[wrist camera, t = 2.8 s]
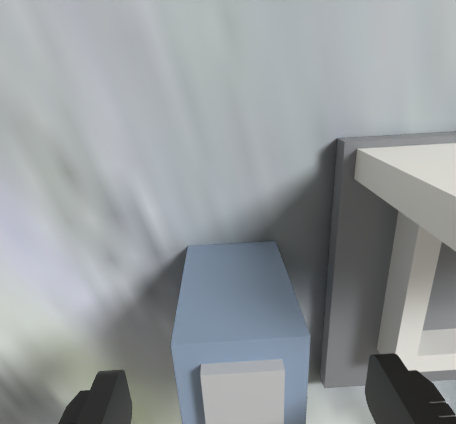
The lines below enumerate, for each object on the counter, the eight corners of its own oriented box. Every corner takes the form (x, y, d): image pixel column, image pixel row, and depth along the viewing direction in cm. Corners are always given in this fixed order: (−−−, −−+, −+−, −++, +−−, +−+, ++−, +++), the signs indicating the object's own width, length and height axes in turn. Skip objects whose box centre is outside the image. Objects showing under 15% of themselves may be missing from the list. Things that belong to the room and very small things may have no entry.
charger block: (187, 245, 15) (168, 355, 9) (275, 240, 15) (314, 346, 9) (195, 316, 16) (183, 451, 10) (275, 311, 16) (308, 442, 10)
